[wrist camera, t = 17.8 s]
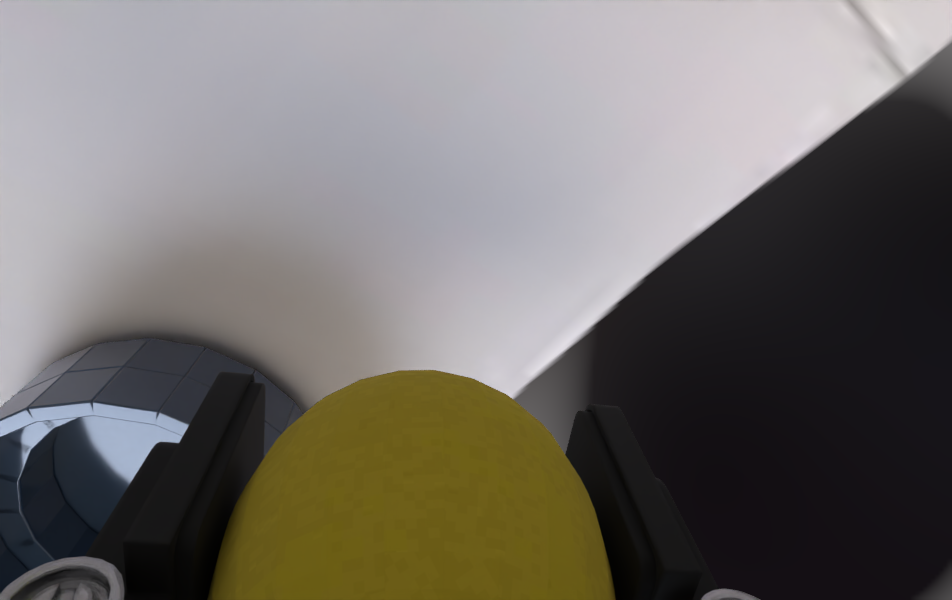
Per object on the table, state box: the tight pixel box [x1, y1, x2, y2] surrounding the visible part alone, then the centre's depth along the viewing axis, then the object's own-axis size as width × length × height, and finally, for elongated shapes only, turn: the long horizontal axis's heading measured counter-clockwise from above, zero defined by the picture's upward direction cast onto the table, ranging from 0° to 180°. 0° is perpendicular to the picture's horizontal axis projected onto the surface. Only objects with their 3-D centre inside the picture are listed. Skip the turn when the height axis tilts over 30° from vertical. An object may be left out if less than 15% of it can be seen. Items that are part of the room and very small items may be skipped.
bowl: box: [0, 338, 303, 593], centre depth 25 cm, size 13×13×5 cm
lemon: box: [207, 370, 616, 600], centre depth 9 cm, size 6×6×8 cm
